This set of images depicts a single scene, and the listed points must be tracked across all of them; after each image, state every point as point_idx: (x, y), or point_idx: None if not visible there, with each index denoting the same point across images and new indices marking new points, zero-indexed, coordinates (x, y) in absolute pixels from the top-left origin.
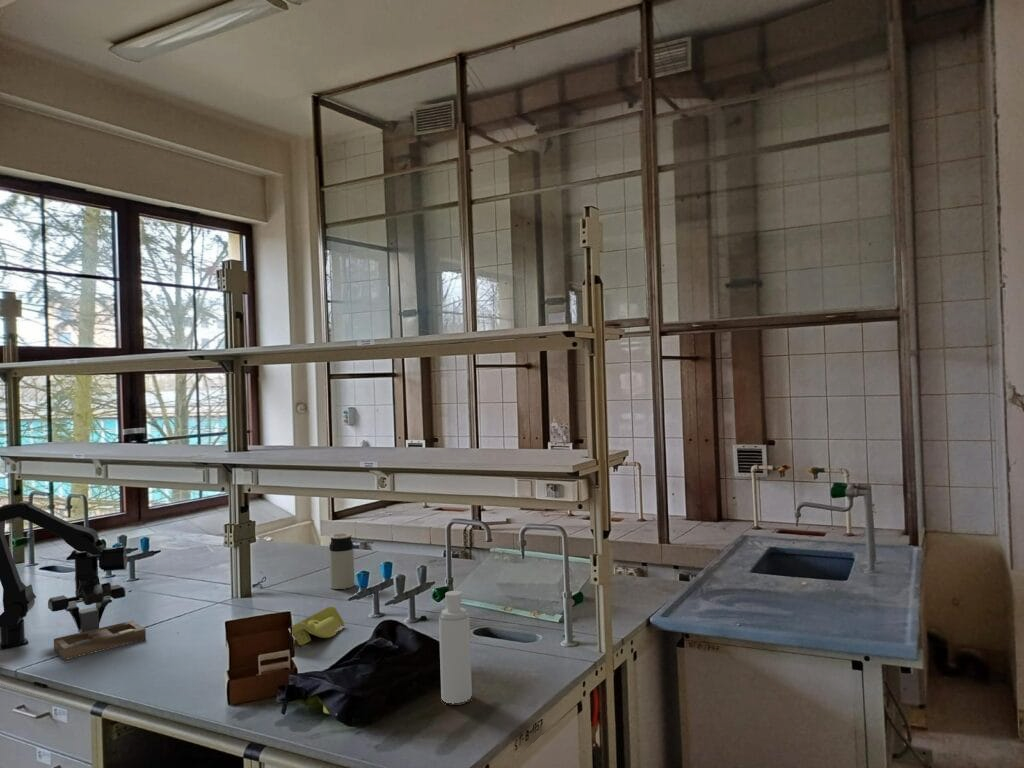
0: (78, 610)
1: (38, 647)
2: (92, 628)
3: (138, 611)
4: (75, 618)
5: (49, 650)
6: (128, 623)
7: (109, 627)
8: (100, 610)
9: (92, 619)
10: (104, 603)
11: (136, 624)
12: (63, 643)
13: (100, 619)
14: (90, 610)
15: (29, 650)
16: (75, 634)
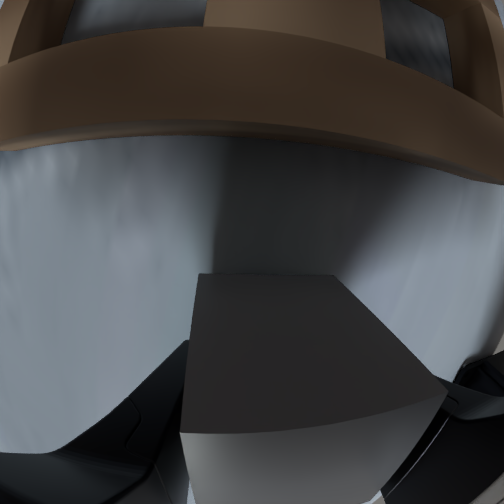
0: (502, 414)
1: (478, 289)
2: (258, 289)
3: (19, 440)
4: (439, 379)
5: (481, 194)
6: (6, 80)
7: (155, 60)
8: (144, 435)
9: (273, 338)
10: (20, 489)
11: (4, 15)
12: (499, 44)
13: (163, 364)
14: (295, 472)
15: (499, 275)
16: (451, 138)
